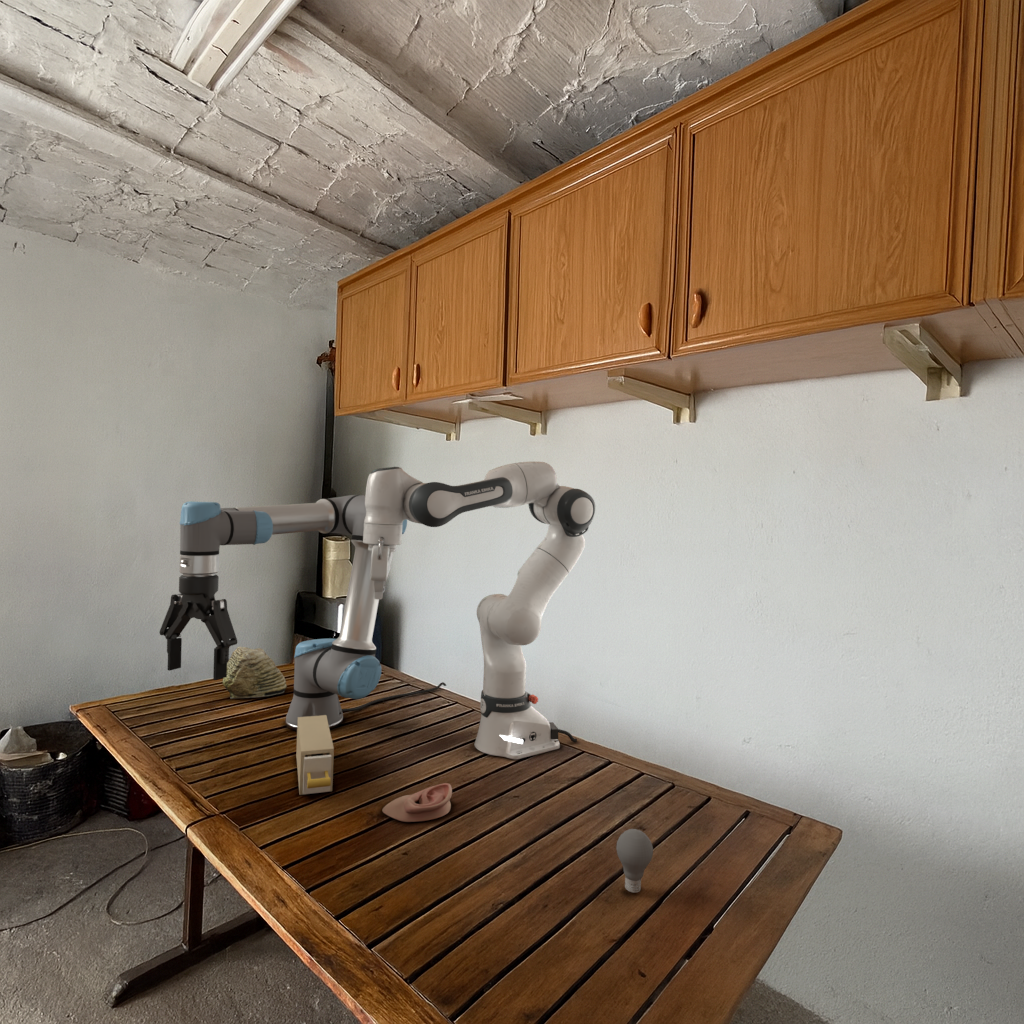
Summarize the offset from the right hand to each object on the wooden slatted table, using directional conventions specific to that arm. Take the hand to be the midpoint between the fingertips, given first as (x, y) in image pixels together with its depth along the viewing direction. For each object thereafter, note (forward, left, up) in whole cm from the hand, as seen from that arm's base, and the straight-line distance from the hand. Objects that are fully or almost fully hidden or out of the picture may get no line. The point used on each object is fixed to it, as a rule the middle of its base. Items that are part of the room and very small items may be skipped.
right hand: (379, 595), depth 147 cm
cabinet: (+13, -3, -41) cm, 43 cm away
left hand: (+38, -4, -16) cm, 41 cm away
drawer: (+13, +2, -40) cm, 42 cm away
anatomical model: (-4, +22, -41) cm, 46 cm away
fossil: (+22, -66, -41) cm, 81 cm away
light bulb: (-30, +61, -41) cm, 79 cm away
